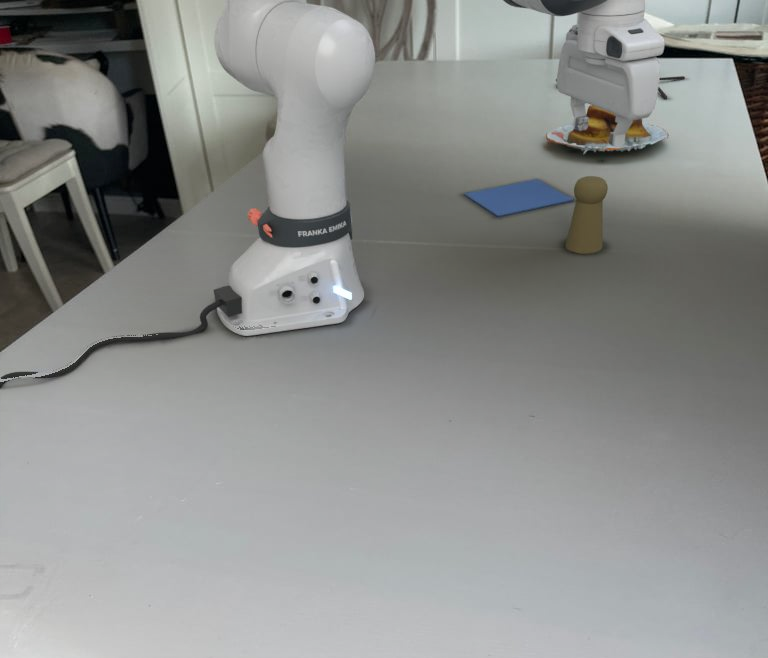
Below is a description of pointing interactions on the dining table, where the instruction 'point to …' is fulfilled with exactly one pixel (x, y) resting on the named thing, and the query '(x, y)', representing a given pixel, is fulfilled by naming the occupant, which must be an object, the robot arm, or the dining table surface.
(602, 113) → the food on plate
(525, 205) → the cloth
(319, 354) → the dining table surface
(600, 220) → the brown peg doll
